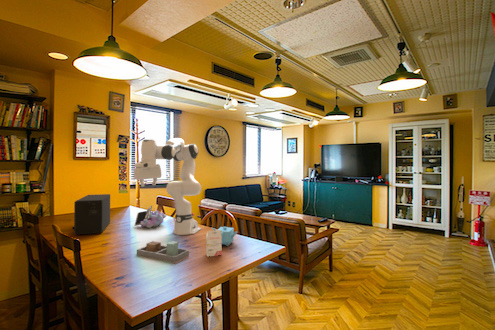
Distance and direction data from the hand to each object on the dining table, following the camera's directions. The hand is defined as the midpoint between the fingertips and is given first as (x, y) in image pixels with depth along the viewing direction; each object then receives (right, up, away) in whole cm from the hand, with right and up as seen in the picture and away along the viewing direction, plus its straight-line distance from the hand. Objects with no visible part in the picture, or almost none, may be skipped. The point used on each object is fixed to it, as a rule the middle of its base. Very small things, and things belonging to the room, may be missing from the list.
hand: (148, 185), depth 162 cm
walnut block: (+9, -38, -16) cm, 42 cm away
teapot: (+48, -39, +5) cm, 62 cm away
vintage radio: (-58, -37, +36) cm, 78 cm away
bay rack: (+15, -38, -18) cm, 45 cm away
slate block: (+22, -38, -21) cm, 48 cm away
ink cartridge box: (+44, -39, -15) cm, 61 cm away
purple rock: (-16, -37, +46) cm, 61 cm away
